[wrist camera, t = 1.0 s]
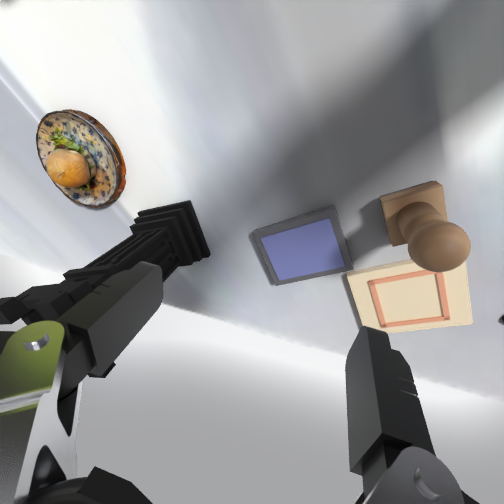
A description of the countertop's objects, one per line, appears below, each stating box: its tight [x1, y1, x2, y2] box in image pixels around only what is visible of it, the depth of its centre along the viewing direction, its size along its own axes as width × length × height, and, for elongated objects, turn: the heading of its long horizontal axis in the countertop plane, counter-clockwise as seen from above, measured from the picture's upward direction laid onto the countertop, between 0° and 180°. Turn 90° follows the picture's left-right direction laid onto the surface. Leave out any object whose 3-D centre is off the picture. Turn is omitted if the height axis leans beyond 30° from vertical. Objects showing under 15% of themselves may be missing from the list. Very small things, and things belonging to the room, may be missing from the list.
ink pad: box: [253, 205, 354, 286], centre depth 32 cm, size 10×8×1 cm
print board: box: [347, 259, 473, 333], centre depth 32 cm, size 12×10×1 cm
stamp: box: [380, 181, 471, 272], centre depth 23 cm, size 5×5×10 cm
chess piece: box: [0, 200, 211, 378], centre depth 28 cm, size 8×8×20 cm
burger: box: [36, 109, 126, 207], centre depth 32 cm, size 12×12×8 cm
